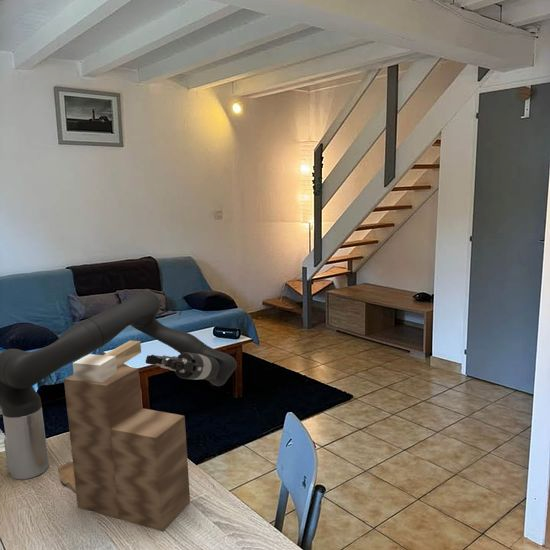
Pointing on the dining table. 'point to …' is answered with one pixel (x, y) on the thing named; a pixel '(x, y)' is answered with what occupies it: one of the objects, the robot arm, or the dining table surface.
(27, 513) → the dining table surface
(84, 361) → the mallet
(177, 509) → the stepped stand
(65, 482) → the pottery shard
